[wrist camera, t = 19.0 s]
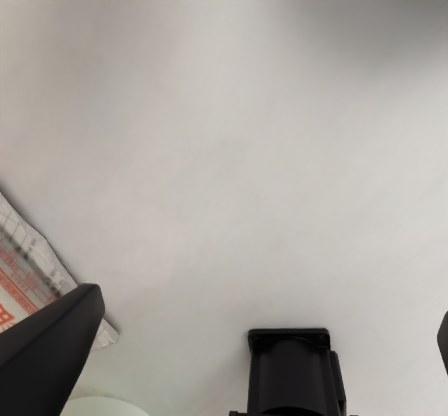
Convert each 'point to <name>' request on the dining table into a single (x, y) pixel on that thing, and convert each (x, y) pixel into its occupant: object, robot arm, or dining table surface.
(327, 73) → the dining table surface
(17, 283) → the packaged product
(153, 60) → the dining table surface
